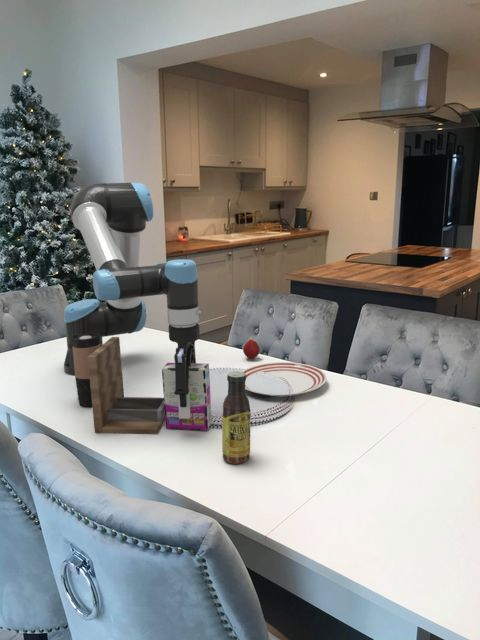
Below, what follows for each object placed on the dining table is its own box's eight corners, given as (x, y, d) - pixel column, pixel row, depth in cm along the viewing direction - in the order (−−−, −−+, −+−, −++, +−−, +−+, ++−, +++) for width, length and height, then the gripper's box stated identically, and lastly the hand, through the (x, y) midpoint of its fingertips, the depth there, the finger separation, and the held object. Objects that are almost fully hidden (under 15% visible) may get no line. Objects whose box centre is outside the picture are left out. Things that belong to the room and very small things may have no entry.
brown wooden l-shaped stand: (117, 404, 149) (112, 336, 145) (173, 405, 148) (169, 337, 143) (94, 432, 132) (87, 356, 127) (157, 434, 130) (152, 357, 126)
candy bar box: (212, 423, 136) (210, 362, 132) (208, 431, 131) (205, 369, 127) (170, 421, 138) (167, 361, 134) (165, 429, 133) (161, 367, 129)
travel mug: (98, 409, 147) (91, 340, 142) (73, 407, 148) (65, 339, 143) (110, 398, 154) (104, 332, 149) (86, 397, 155) (79, 331, 151)
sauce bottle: (230, 468, 114) (227, 381, 109) (217, 455, 119) (214, 372, 114) (256, 460, 116) (255, 375, 112) (243, 449, 122) (241, 367, 117)
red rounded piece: (262, 358, 187) (262, 337, 185) (254, 363, 183) (254, 341, 181) (248, 356, 190) (248, 335, 188) (240, 360, 186) (239, 338, 184)
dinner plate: (282, 411, 143) (282, 400, 142) (218, 385, 163) (218, 375, 162) (345, 386, 160) (345, 375, 159) (280, 365, 180) (280, 356, 179)
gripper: (191, 335, 118) (195, 428, 123) (205, 314, 138) (209, 395, 143) (158, 335, 118) (164, 428, 124) (177, 314, 139) (181, 395, 144)
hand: (188, 410), depth 134 cm, fingers open, 8 cm apart
